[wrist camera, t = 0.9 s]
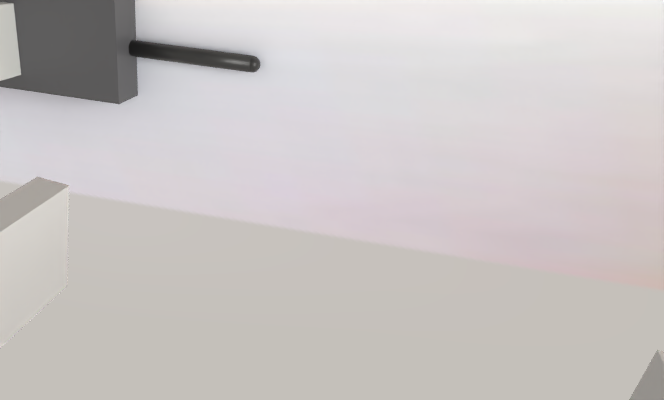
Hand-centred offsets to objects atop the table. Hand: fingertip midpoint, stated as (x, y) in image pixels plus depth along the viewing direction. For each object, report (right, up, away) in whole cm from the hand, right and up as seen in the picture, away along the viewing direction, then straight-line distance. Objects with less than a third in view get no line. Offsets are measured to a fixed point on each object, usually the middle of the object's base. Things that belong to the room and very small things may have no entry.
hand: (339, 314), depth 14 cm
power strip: (-20, +14, +27) cm, 37 cm away
